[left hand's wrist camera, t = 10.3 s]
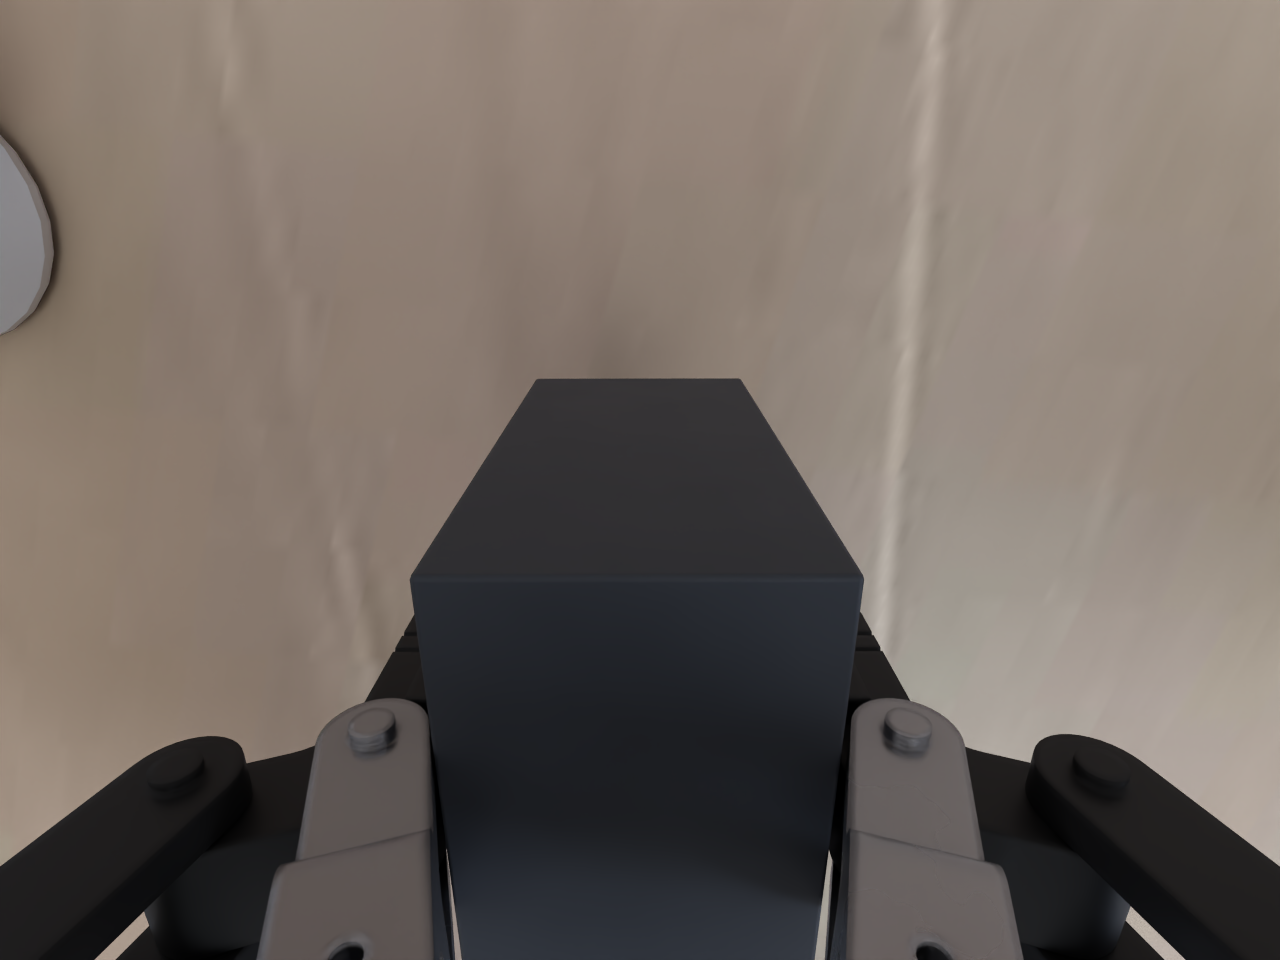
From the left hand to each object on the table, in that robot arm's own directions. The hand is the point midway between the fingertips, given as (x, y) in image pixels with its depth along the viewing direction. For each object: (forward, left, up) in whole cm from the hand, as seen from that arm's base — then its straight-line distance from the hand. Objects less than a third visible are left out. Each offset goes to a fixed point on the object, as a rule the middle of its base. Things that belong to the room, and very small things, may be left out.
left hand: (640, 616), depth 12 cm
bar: (+9, +2, -4) cm, 10 cm away
